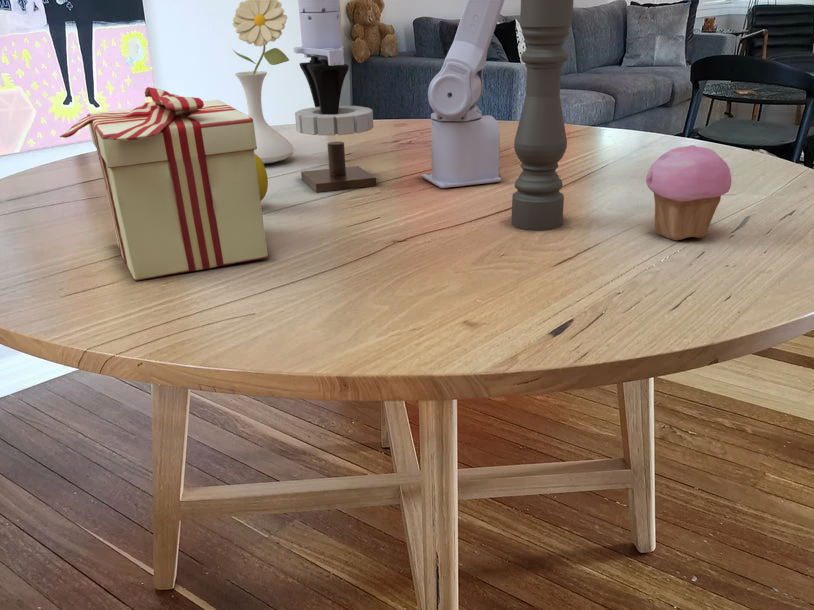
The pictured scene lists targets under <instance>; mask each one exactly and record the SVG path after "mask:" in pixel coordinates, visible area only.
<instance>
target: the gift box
mask: <svg viewBox="0 0 814 610" xmlns="http://www.w3.org/2000/svg"><path fill="white" fill-rule="evenodd" d="M144 94H145V95H144V96H145V98H151V101H152V102H151V101H149V102H143V103H141V105H139V106H137V107H135V108H128V109H119V110H111V111H101V112H100V111H99V112H91V113H88V114H87V115H86V116H85V117H82V118H81V119H79V121H77V122H75V123H74V124H73V125H72V126H71V127H70V128H69V129H68V130H67V131H66V132H65V133H63V134H61V135H59V138H65V139H66V138H70V137H72V136H74V135H75V134H76V133H77V132H79V130H81V129H84V128H85V127H87V126H88V127H89V132H90V137H91V140H92V143H93V145H94V147H95V148H96V152H97V156H98V160H99V165H100V168H101V169H100V170H101V173H102V178H103V183H104V187H105V191H106V195H107V200H108V205H109V209H110V214H111V219H112V224H113V228H114V233H115V237H116V242H117V247H118V249H119V253H120V256H121V258H122V259H123V260H124V264H125V265H126V267H127V268H128V270H129V272H130V273H129V274H130V275H131V277H132V279H133V280H134V281H137V282H138V281H143V280H149V279H154V278H161V277H166V276H172V275H176V274H182V273H188V272H189V273H190V272H196V271H201V270H206V269H213V268H217V267H223V266H229V265H234V264H239V263H240V264H241V263H246V262H247V263H248V262H252V261H253V262H254V261H258V260H259V261H260V260H263V259H267V258H269V252H268V247H267V241H266V239H267V238H266V232H265V223H264V218H263V210H262V201H260V193H259V185H258V178H257V170H256V162H255V156H254V150H256V149H257V145H256V137H255V129H254V122H253V119H252V118H251V117H249V116H248V115H247V114H246V113H244V112H241V111H239V110H238V109H237V108H235V107H233V106H231V105H229V104H227V103H225V102H224V101H221V100H220V99H215V100H214V99H213V100H205V101H203V100H202V99H201V98H200V97H192V96H180V95H178V94H176V93H175V94H174V93H170V92H168V91H167V90H164V89H161V88H155V87H150V86H148V87H147V86H146V88H145V91H144Z"/></svg>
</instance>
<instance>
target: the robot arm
mask: <svg viewBox="0 0 814 610" xmlns="http://www.w3.org/2000/svg"><path fill="white" fill-rule="evenodd" d="M297 2H298V3H297V4H298V12H299V26H300V38H301V40H300V41H301V46H294V47H293V53H294V54H303V55H304V58H306V59H310V60H309V62H307V61H306V62H300V63H299V67H300V69H301V72H303V74H304V77H305V79H306V81H307V84H308V86H309V89H310V93H311V98H312V101H313V105H314V108H316V107H320V109H321V113H322V114H323V115H335V114H338V110H339V106H340V103H341V95H342V89H343V85H344V83H345V82H344V81H345V78H346V76H347V73H348V72H349V68H350V65H349V64H347V63H345V57H344V52H345V45H343V32H342V31H343V30H342V12H341V0H297ZM504 4H505V0H466V1H465V4H464V8H463V11H462V13H461V16H460V20H459V23H458V26H457V30H456V33H455V36H454V39H453V40H452V41H453V42H452V44H451V45H450V48H449V50H448V51H447V53H446V56H445V58H444V61H443V64H442V66H441V69H440V70H439V72H438V73H437V74H436V75H435V76H434V77H433V78H432V79H431V81H430V83H429V86H428V88H427V90H428V91H427V100H428V103H429V107H430V108H431V109H432V111H433V112H432V113H431V114H430V137H431V139H430V140H431V141H430V144H431V147H430V148H431V149H430V150H431V173H423V174H422V175H421V177H422V179H424V180H426V181H428V182H429V183H431V184H433V185H435V186H437V187H439V188H441V189H447V188H457V187H465V186H474V185H480V184H481V185H483V184H484V185H485V184H493V183H500V182H502V177H500V159H501V158H500V154H501V152H500V151H501V146H500V145H501V133H500V128H499V124H498V121H497V120H496V118H495V117H494V116H492V115H489V114H488V115H487V114H485V115H483V112H482V110H481V109H480V107H479V106H478V104H477V103H478V102H479V101H480V100H481V98H482V95H483V92H484V80H483V73H484V69H485V66H486V64H487V63H486V62H487V57H488V50H489V48H490V44H491V42H492V38H493V35H494V32H495V31H496V27H497V24H498V21H499V18H500V14H501V12H502V9H503V6H504Z"/></svg>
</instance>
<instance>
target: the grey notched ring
mask: <svg viewBox="0 0 814 610" xmlns="http://www.w3.org/2000/svg"><path fill="white" fill-rule="evenodd" d="M294 119H295V130H296V131H297V132H298V133H300V134H304V135H310V136H317V135H318V136H336V135H337V136H345V135H354V134H361V133H365V132H369V131H372V129H373V128H374V110H373V109H372V108H370V107H365V106H361V105H359V106H358V105H339V110H338V114H335V115H323V114H322V113H321V109H320V107H316V108H315V107H307V108H301V109H298V110H297V111H295V112H294Z"/></svg>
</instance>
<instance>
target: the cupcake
mask: <svg viewBox="0 0 814 610" xmlns="http://www.w3.org/2000/svg"><path fill="white" fill-rule="evenodd" d="M645 184H646V186H647V188H648V189H649V190H650V191H651V192H652V194H653V199H654V217H653V221H654V231H655V232H656V233H657V235H659V236H661V237H664V238H667V239H670V240H673V241H680V240H684V239H687V238H696V239H701V238H703V237H704V236H705V235H706V234H707V232H708V230H709V228H710V226H711V223H712V221H713V218H714V215H715V213H716V211H717V208H718V206H719V204H720V202H721V199H722V196H723V195H726V194H727V193H729V192H730V189H731V187H732V171H731V168H730V167H729V165H728V164H727V162H726V161H725V160H724V159H723V158H722V157H721V156H720V155H719V154H718V153H717V151H715V150H713V149H711V148H708V147H703V146H697V145H694V144H690V145H688V146H679V147H674V148H672V149H669V150H668V151H666V152H664V153H663V154H661V155H660V156H659V157H658V158H657V159H656V160H655V161H654V162H653V163H652V164H651V166H650V167H649V169H648V170H647V173H646V178H645Z"/></svg>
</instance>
